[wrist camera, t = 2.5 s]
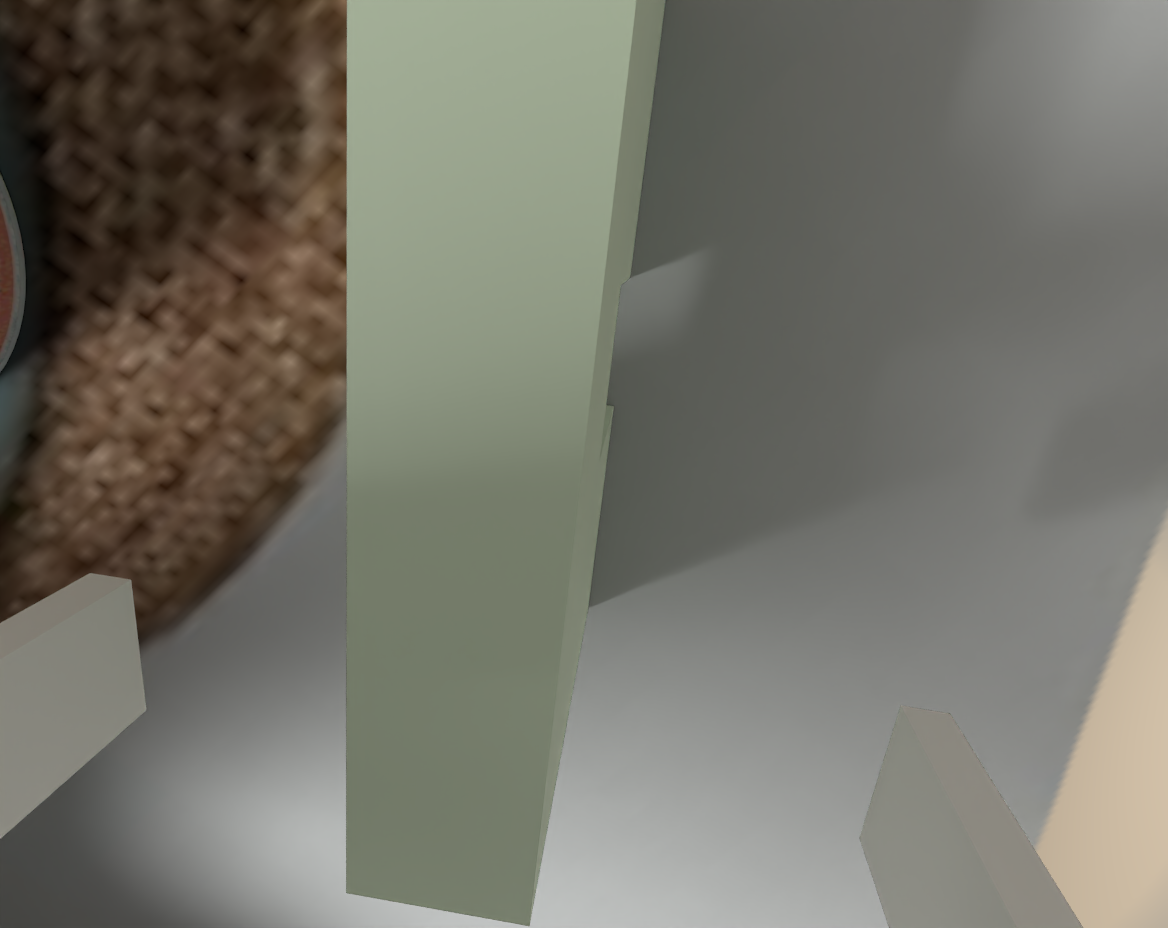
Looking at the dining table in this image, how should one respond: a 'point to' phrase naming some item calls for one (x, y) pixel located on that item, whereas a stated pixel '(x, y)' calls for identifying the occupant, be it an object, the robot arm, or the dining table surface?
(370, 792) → the green arch bridge
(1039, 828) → the dining table surface
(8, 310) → the canned food
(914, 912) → the robot arm
